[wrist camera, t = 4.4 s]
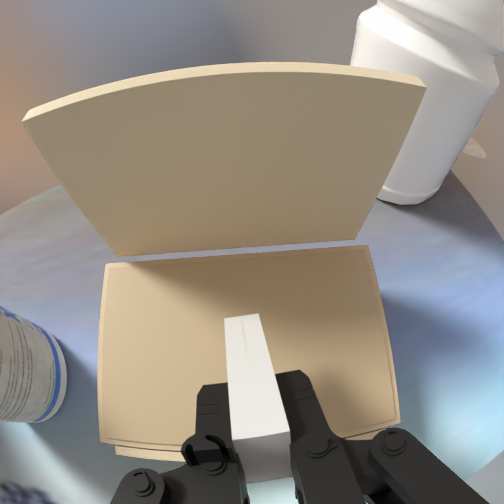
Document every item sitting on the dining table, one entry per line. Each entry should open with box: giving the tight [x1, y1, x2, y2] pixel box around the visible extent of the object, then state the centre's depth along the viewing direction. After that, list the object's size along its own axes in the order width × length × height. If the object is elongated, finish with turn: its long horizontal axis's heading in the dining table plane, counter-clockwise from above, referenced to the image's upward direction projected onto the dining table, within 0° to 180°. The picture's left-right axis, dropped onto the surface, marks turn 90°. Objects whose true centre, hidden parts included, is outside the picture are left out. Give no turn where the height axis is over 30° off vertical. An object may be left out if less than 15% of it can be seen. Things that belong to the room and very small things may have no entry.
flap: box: [22, 62, 427, 257], centre depth 14 cm, size 16×1×12 cm, turn 94°
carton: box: [97, 245, 401, 462], centre depth 19 cm, size 18×13×6 cm
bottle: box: [350, 0, 504, 205], centre depth 19 cm, size 14×14×28 cm
